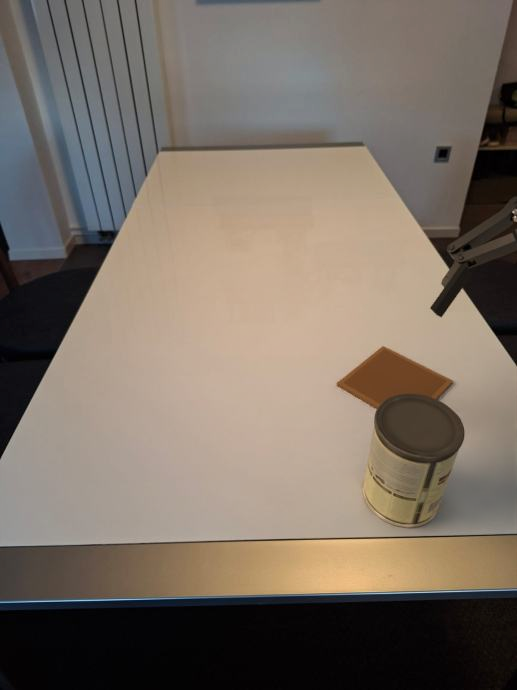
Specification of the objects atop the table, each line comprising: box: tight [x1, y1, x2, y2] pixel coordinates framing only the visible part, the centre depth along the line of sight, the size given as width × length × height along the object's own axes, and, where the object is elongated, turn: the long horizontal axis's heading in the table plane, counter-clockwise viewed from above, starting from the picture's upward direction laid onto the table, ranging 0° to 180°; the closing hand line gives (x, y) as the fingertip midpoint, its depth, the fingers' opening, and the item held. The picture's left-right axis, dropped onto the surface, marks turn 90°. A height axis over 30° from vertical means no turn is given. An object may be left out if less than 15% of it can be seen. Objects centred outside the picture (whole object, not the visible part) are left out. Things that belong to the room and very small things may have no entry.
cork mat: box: [336, 345, 454, 410], centre depth 84 cm, size 14×14×1 cm
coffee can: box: [362, 394, 466, 529], centre depth 63 cm, size 10×10×14 cm
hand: (483, 339), depth 58 cm, fingers open, 13 cm apart
